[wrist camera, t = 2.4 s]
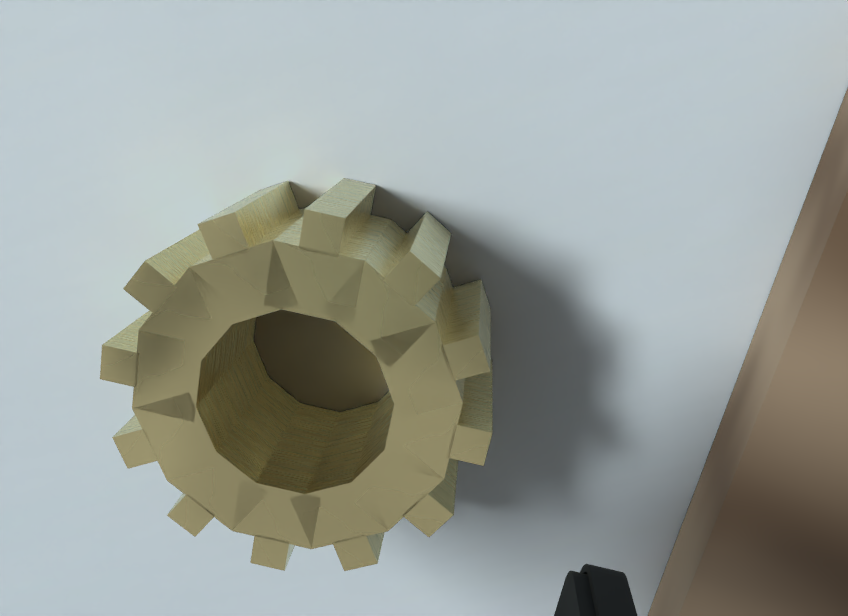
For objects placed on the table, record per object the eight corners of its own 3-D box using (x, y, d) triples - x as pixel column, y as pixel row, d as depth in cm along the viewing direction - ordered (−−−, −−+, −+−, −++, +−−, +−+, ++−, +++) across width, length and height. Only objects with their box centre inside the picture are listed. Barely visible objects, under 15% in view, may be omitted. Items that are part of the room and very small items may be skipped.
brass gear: (192, 145, 16) (113, 166, 12) (528, 218, 16) (537, 260, 12) (163, 441, 18) (90, 525, 15) (454, 507, 18) (446, 607, 15)
